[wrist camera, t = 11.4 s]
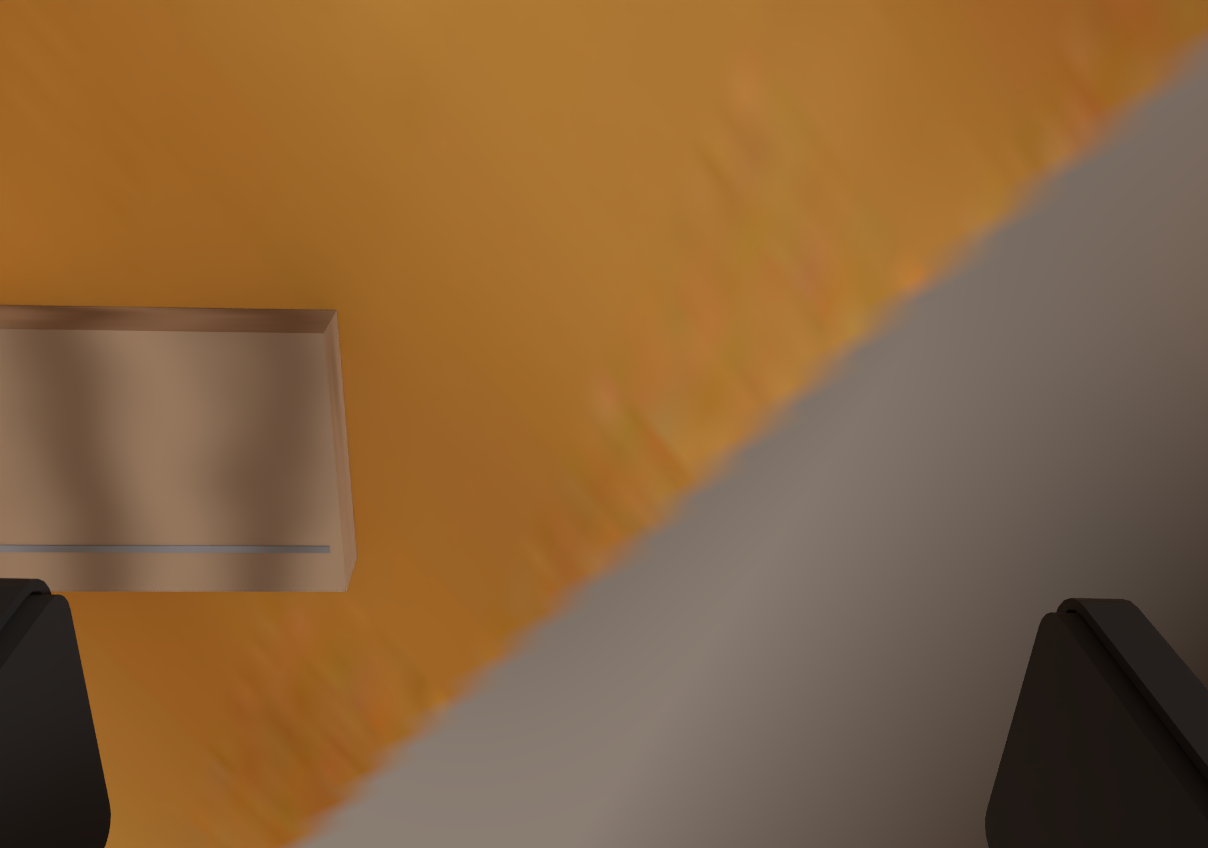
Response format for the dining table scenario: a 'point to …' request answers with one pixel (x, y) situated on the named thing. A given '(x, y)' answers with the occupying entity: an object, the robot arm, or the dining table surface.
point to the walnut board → (174, 449)
